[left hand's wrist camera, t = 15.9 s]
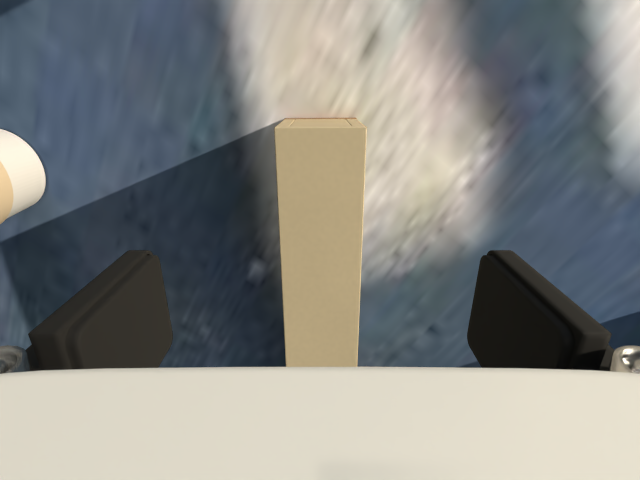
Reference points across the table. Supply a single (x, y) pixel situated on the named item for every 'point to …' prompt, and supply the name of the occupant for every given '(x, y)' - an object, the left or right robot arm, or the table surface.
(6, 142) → the coffee cup
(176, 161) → the table surface
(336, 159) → the tan long block
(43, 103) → the table surface
